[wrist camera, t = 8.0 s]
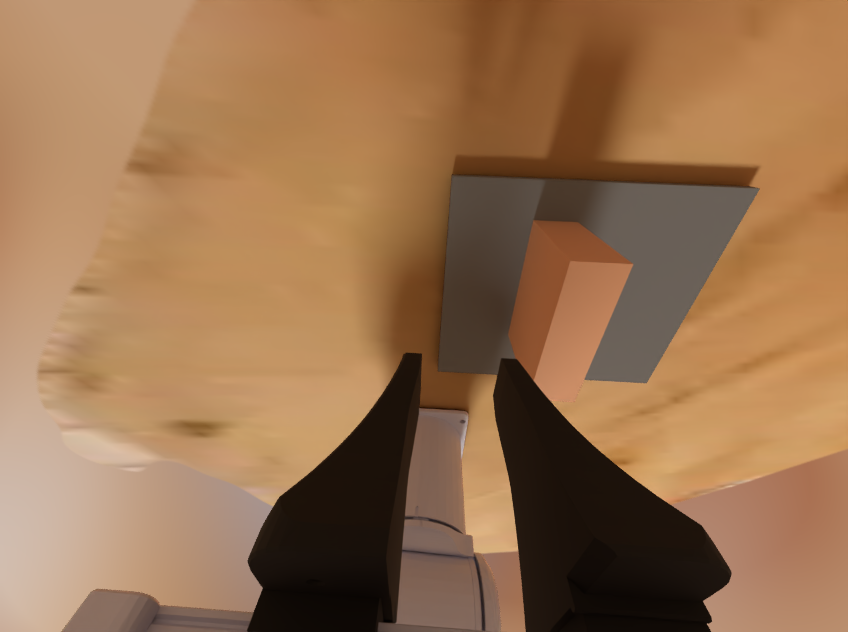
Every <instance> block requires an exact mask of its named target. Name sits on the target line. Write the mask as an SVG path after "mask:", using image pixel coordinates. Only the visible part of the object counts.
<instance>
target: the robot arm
mask: <svg viewBox="0 0 848 632" xmlns="http://www.w3.org/2000/svg"><path fill="white" fill-rule="evenodd" d="M421 361H422V354H419V353H405V354H404V355H403V358H402V360H401V362H400V365H399V367H398V369H397V370H396V372H395V374H394V376H393V378H392V379H391V381H390V383H389V384H388V386H387V387H386V389H385V391H384V392H383V394H382V395H381V396H380V398H379V399H378V401H377V402H376V403H375V405H374V406H373V408H372V409H371V410H370V412H369V413H368V414H367V415H366V417H365V418H364V419H363V420H362V421H361V423H360V424H359V425H358V426H357V427H356V428H355V430H354V431H353V432H352V433H351V434H350V435H349V436H348V437H347V438H346V439H345V440H344V441H343V442H342V443H341V444H340V445H339V446H338V447H337V448H336V449H335V450H334V451H333V452H332V453H331V454H330V455H329V456H328V457H327V458H326V459H325V460H324V461H322V462H321V463H320V464H319V465H318V466H317V467H316V468H315V469H314V470H312V471H311V472H310V473H309V474H308V475H307V476H305V477H304V478H303V479H302V480H300V481H299V482H298V483H297V484H295V485H294V486H293V487H292V488H290V489H289V490H288V491H287V492H285V493H284V494H283V495H281V496H280V497H279V499H278V500H277V502H276V503H275V505H274V507H273V508H272V510H271V512H270V513H269V515H268V517H267V519H266V520H265V522H264V524H263V526H262V528H261V530H260V532H259V535H258V537H257V539H256V542H255V544H254V546H253V549H252V551H251V553H250V556H249V558H248V564H249V567H250V570H251V571H252V573H253V575H254V576H255V577H256V579H257V580H258V582H259V583H260V585H261V586H262V587H263V589H262V592H261V595H260V597H259V600H258V602H257V605H256V608H255V610H254V612H241V611H228V610H215V609H203V608H190V607H177V606H165V605H164V606H163V605H160V604H159V602H158V601H157V600H156V599H155V598H154V597H152V596H150V595H147V594H144V593H140V592H132V591H120V590H119V591H118V590H107V589H96V590H93V591H92V592H90V594H89V595H88V597H87V598H86V599H85V601H84V602H83V603H82V605H81V606H80V607H79V609H78V610H77V611H76V613H75V614H74V615H73V617H72V618H71V620H70V621H69V622H68V624H67V625H66V626H65V627H64V629H63V630H62V631H61V632H501V619H500V607H499V599H498V592H497V587H496V582H495V579H494V575H493V572H492V570H491V568H490V566H489V565H488V564H487V562H486V560H485V558H484V557H483V555H482V554H480V553H474V551H473V537H472V536H471V535H466V531H465V514H464V496H463V478H462V455H463V449H464V443H465V437H466V430H467V424H468V418H469V417H468V413H467V412H466V411H458V410H441V409H424V408H419V405H420V391H421ZM493 399H494V409H495V418H496V423H497V428H498V432H499V437H500V441H501V445H502V450H503V454H504V458H505V462H506V467H507V471H508V476H509V481H510V486H511V493H512V501H513V508H514V516H515V524H516V533H517V541H518V550H519V560H520V569H521V579H522V591H523V603H524V614H525V627H526V632H711V631H710V629H709V627H708V625H707V623H711V622H712V619H711V616H710V614H709V612H708V610H707V608H706V606H705V605H704V603H703V600H705V599H706V598H708V597H710V596H711V595H713V594H714V593H716V592H717V591H719V590H720V589H722V588H723V587H724V586H725V585H727V583H729V580H730V577H731V570H730V569H729V567H728V565H727V563H726V562H725V560H724V559H723V557H722V555H721V554H720V552H719V551H718V549H717V548H716V546H715V544H714V543H713V541H712V540H711V538H710V537H709V535H708V534H707V532H706V531H705V530H704V528H703V527H702V526H701V525H700V524H698V523H697V522H695V521H694V520H692V519H691V518H689V517H688V516H686V515H685V514H683V513H682V512H680V511H679V510H677V509H676V508H674V507H673V506H671V505H670V504H668V503H667V502H665V501H664V500H662V499H661V498H659V497H658V496H656V495H655V494H654V493H652V492H651V491H650V490H648V489H647V488H645V487H644V486H643V485H641V484H640V483H639V482H637V481H636V480H635V479H633V478H632V477H631V476H629V475H628V474H627V473H626V472H624V471H623V470H622V469H620V468H619V467H618V466H617V465H616V464H614V463H613V462H612V461H611V460H610V459H608V458H607V457H606V456H605V455H604V454H602V453H601V452H600V451H599V450H598V449H597V448H595V447H594V446H593V445H592V444H591V443H590V442H589V441H588V440H587V439H586V438H585V437H584V436H583V435H582V434H580V433H579V432H578V431H577V430H576V429H575V428H574V427H573V426H572V425H571V424H570V423H569V422H568V421H567V419H566V418H565V417H564V416H563V415H562V414H561V413H560V412H559V411H558V410H557V408H556V407H555V406H554V405H553V404H552V403H551V401H550V400H549V399H548V398H547V397H546V395H545V394H544V393H543V392H542V391H541V389H540V388H539V387H538V386H537V384H536V383H535V382H534V380H533V379H532V378H531V377H530V375H529V374H528V373H527V371H526V370H525V369H524V367H523V366H522V365H521V363H520V362H519V361H518V360H517V359H510V358H501V361H500V366H499V370H498V375H497V380H496V384H495V389H494V394H493Z"/></svg>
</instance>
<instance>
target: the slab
mask: <svg viewBox="0 0 848 632" xmlns="http://www.w3.org/2000/svg"><path fill="white" fill-rule="evenodd" d="M632 266H633V263H631V262H630V261H629V260H627V259H626V258H625V257H623V256H622V255H621V254H619V253H618V252H617V251H615V250H614V249H613V248H611V247H610V246H609V245H607V244H606V243H605V242H603V241H602V240H601V239H599V238H598V237H597V236H595V235H594V234H593V233H592V232H590V231H589V230H588V229H586V228H585V227H584V226H582V225H581V224H580V223H578V222H563V221H540V220H533V223H532V228H531V233H530V237H529V242H528V246H527V251H526V255H525V260H524V264H523V269H522V273H521V278H520V283H519V287H518V292H517V296H516V301H515V305H514V310H513V314H512V319H511V324H510V328H509V333H508V336H509V339H510V342H511V345H512V349H513V352H514V355H515V358H516V359H517V360H518V361H519V362H520V363H521V365H522V366H523V367H524V369H525V370H526V371H527V373H528V374H529V375H530V377H531V378H532V379H533V380H534V382H535V383H536V384H537V386H538V387H539V388H540V389H541V391H542V392H543V393H544V394H545V395H546V397H547V398H548V399H549V400H550V401H565V402H575V400H576V398H577V395H578V393H579V391H580V388H581V386H582V384H583V381H584V379H585V377H586V374H587V372H588V370H589V367H590V365H591V362H592V360H593V358H594V355H595V353H596V351H597V348H598V346H599V344H600V341H601V339H602V337H603V334H604V332H605V330H606V327H607V325H608V323H609V320H610V318H611V316H612V313H613V311H614V309H615V306H616V304H617V302H618V299H619V297H620V295H621V292H622V290H623V288H624V285H625V283H626V281H627V278H628V276H629V273H630V271H631V269H632Z"/></svg>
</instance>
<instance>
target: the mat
mask: <svg viewBox="0 0 848 632" xmlns="http://www.w3.org/2000/svg"><path fill="white" fill-rule="evenodd" d="M759 189H760V188H755V187H750V186H726V185H701V184H676V183H651V182H627V181H602V180H577V179H552V178H527V177H502V176H477V175H453V174H452V179H451V193H450V207H449V221H448V235H447V248H446V262H445V276H444V290H443V304H442V317H441V331H440V345H439V359H438V371H441V372H458V373H476V374H493V375H498V370H499V366H500V361H501V358H510V359H516V358H515V355H514V352H513V349H512V345H511V342H510V339H509V336H508V333H509V328H510V324H511V319H512V314H513V310H514V305H515V301H516V296H517V292H518V287H519V283H520V278H521V273H522V269H523V264H524V260H525V255H526V251H527V246H528V242H529V237H530V233H531V228H532V223H533V220H540V221H563V222H578V223H580V224H581V225H582V226H584V227H585V228H586V229H588V230H589V231H590V232H592V233H593V234H594V235H595V236H597V237H598V238H599V239H601V240H602V241H603V242H605V243H606V244H607V245H609V246H610V247H611V248H613V249H614V250H615V251H617V252H618V253H619V254H621V255H622V256H623V257H625V258H626V259H627V260H629V261H630V262H631V263H633V266H632V269H631V271H630V273H629V276H628V278H627V281H626V283H625V285H624V288H623V290H622V292H621V295H620V297H619V299H618V302H617V304H616V306H615V309H614V311H613V313H612V316H611V318H610V320H609V323H608V325H607V327H606V330H605V332H604V334H603V337H602V339H601V341H600V344H599V346H598V348H597V351H596V353H595V355H594V358H593V360H592V362H591V365H590V367H589V370H588V372H587V374H586V377H585V379H584V380H599V381H616V382H634V383H647V382H648V380H649V378H650V376H651V375H652V373H653V371H654V370H655V368H656V366H657V364H658V363H659V361H660V359H661V358H662V356H663V354H664V352H665V351H666V349H667V347H668V346H669V344H670V342H671V340H672V339H673V337H674V335H675V334H676V332H677V330H678V328H679V327H680V325H681V323H682V322H683V320H684V318H685V316H686V315H687V313H688V311H689V309H690V308H691V306H692V304H693V303H694V301H695V299H696V297H697V296H698V294H699V292H700V291H701V289H702V287H703V285H704V284H705V282H706V280H707V279H708V277H709V275H710V273H711V272H712V270H713V268H714V267H715V265H716V263H717V261H718V260H719V258H720V256H721V255H722V253H723V251H724V249H725V248H726V246H727V244H728V242H729V241H730V239H731V237H732V236H733V234H734V232H735V230H736V229H737V227H738V225H739V224H740V222H741V220H742V218H743V217H744V215H745V213H746V212H747V210H748V208H749V206H750V205H751V203H752V201H753V200H754V198H755V196H756V194H757V193H758V191H759Z"/></svg>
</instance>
